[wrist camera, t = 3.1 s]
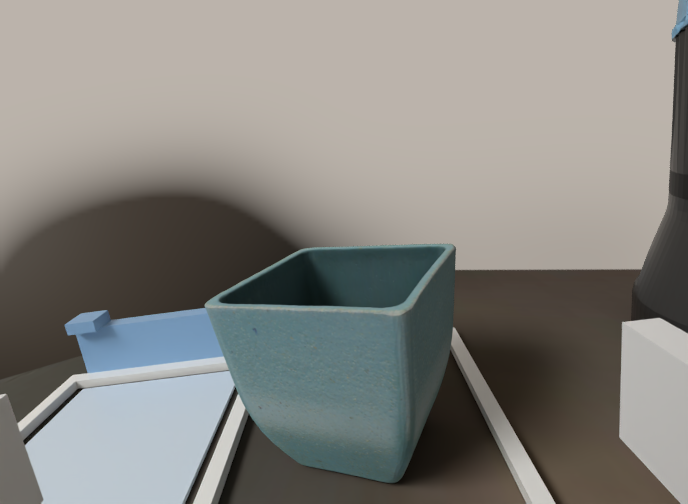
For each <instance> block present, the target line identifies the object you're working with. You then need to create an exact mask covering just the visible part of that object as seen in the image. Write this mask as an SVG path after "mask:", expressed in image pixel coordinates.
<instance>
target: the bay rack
mask: <svg viewBox="0 0 688 504" xmlns="http://www.w3.org/2000/svg"><path fill="white" fill-rule="evenodd" d="M65 328H66V331H67V334H68V335H75V334H76V336H77V340H78V343H79V346H80V349H81V353H82V356H83V359H84V362H85V365H86V369H87V372H88V373H87V374H79V375H72V376H71V377H70V378H69V379H68V380H67V381H66V382H64V383H63V384H62V385H61V386H60V387H59V388H58V389H57V390H55V391H54V392H53V393H52V394H51V395H50V396H49V397H47V398H46V399H45V400H44V401H43V402H42V403H41V404H40V405H38V406H37V407H36V408H35V409H34V410H33V411H32V412H30V413H29V414H28V415H27V416H26V417H25V418H24V419H23V420H21V421H20V422H19V423H18V427H19V430H20V433H21V436H22V439H23V440H24V439H25V438H26V437H27V436H29V435H30V434H31V433H32V432H33V431H34V430H35V429H36V428H37V427H38V426H39V425H40V424H41V423H42V422H43V421H44V420H45V419H46V418H47V417H49V416H50V415H51V414H52V413H53V412H54V411H55V410H56V409H57V408H58V407H59V406H60V405H61V404H62V403H63V402H64V401H65V400H66V399H67V398H69V397H70V396H71V395H72V394H73V393H74V392H75V391H76V390H77V389H80V388H86V389H83V390H82V391H81V392H79V393H78V394H77V395H76V396H75V397H74V398H73V399H72V400H71V401H70V402H69V403H68V404H67V405H66V406H65V407H64V408H63V409H62V410H61V411H60V412H59V413H58V414H57V415H56V416H55V417H54V418H53V419H52V420H51V421H50V422H49V423H48V424H46V425H45V426H44V427H43V428H42V429H41V430H40V431H39V432H38V433H37V434H36V435H35V436H34V437H33V438H32V439H31V440H30V441H29V442H28V443H27V444H26V445H25V447H26V450H27V453H28V456H29V459H30V462H31V465H32V468H33V470H34V473H35V476H36V479H37V482H38V485H39V488H40V491H41V493H42V496H43V499H44V500H43V501H42V503H41V504H185V502H186V500H187V498H188V495H189V493H190V491H191V488H192V486H193V484H194V481H195V479H196V477H197V475H198V472H199V470H200V468H201V465H202V463H203V461H204V458H205V456H206V454H207V451H208V449H209V447H210V445H211V442H212V440H213V438H214V435H215V433H216V431H217V428H218V426H219V424H220V421H221V419H222V417H223V415H224V412H225V410H226V408H227V405H228V403H229V401H230V398H231V396H232V394H233V391H234V389H235V384H234V382H233V379H232V377H231V374H230V371H226V370H229V369H228V366H227V364H226V361H225V358H224V356H223V353H222V350H221V348H220V345H219V343H218V340H217V337H216V334H215V332H214V329H213V326H212V324H211V321H210V318H209V316H208V313H207V311H206V308H202V309H195V310H187V311H179V312H171V313H163V314H155V315H147V316H140V317H132V318H125V319H116V320H110V316H109V313H108V310H105V311H97V312H89V313H81V314H80V315H78V316H77V317H75V318H74V319H72V320H71V321H69V322H68V323H66V324H65ZM450 350H451V352H452V354H453V356H454V358H455V360H456V362H457V364H458V366H459V368H460V370H461V372H462V374H463V376H464V378H465V380H466V382H467V384H468V386H469V388H470V390H471V392H472V394H473V396H474V398H475V400H476V402H477V404H478V407H479V409H480V411H481V413H482V415H483V417H484V419H485V421H486V423H487V425H488V427H489V429H490V431H491V433H492V435H493V437H494V439H495V441H496V443H497V445H498V447H499V449H500V451H501V453H502V455H503V457H504V459H505V461H506V463H507V465H508V467H509V469H510V471H511V473H512V475H513V477H514V479H515V481H516V483H517V485H518V487H519V489H520V491H521V493H522V495H523V497H524V499H525V502H526V504H556V503H555V502H554V500H553V498H552V496H551V495H550V493H549V491H548V489H547V488H546V486H545V484H544V482H543V481H542V479H541V477H540V476H539V474H538V472H537V470H536V469H535V467H534V465H533V463H532V462H531V460H530V458H529V456H528V455H527V453H526V451H525V449H524V448H523V446H522V444H521V442H520V441H519V439H518V437H517V435H516V434H515V432H514V430H513V428H512V427H511V425H510V423H509V421H508V420H507V418H506V416H505V415H504V413H503V411H502V409H501V408H500V406H499V404H498V402H497V401H496V399H495V397H494V395H493V394H492V392H491V390H490V388H489V387H488V385H487V383H486V381H485V380H484V378H483V376H482V374H481V373H480V371H479V369H478V367H477V366H476V364H475V362H474V360H473V359H472V357H471V355H470V354H469V352H468V350H467V348H466V347H465V345H464V343H463V341H462V340H461V338H460V336H459V334H458V333H457V331H456V329H455V328H453V332H452V341H451V347H450ZM217 371H224V372H217ZM209 372H216V373H209ZM201 373H208V374H201ZM193 374H200V375H193ZM185 375H192V376H185ZM177 376H183V377H177ZM169 377H175V378H169ZM161 378H167V379H161ZM153 379H159V380H153ZM145 380H151V381H145ZM137 381H143V382H137ZM128 382H135V383H128ZM120 383H127V384H120ZM112 384H119V385H112ZM104 385H111V386H104ZM96 386H102V387H96ZM88 387H94V388H88ZM248 415H249V413H248V411H247V410H246V408H245V406H244V404H243V403H242V401H241V398H240V396H239V394H238V396H237V398H236V401H235V403H234V405H233V408H232V410H231V413H230V415H229V418H228V420H227V423H226V425H225V427H224V430H223V432H222V435H221V437H220V440H219V442H218V444H217V447H216V449H215V452H214V454H213V457H212V459H211V461H210V464H209V466H208V469H207V471H206V474H205V476H204V479H203V481H202V483H201V486H200V488H199V491H198V493H197V496H196V498H195V500H194V503H193V504H218V502H219V499H220V496H221V493H222V490H223V487H224V485H225V482H226V479H227V476H228V473H229V470H230V467H231V464H232V461H233V458H234V455H235V453H236V450H237V447H238V444H239V441H240V438H241V435H242V432H243V429H244V426H245V423H246V421H247V418H248Z"/></svg>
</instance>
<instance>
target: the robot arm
mask: <svg viewBox="0 0 688 504" xmlns="http://www.w3.org/2000/svg"><path fill="white" fill-rule="evenodd" d="M672 41H674V42H676V52H675V74H674V97H673V121H672V143H671V158H670V159H671V160H670V180H669V199H668V206H667V210H666V212H665V215H664V217H663V219H662V221H661V224H660V226H659V228H658V231H657V233H656V235H655V237H654V240H653V242H652V245H651V247H650V249H649V252H648V254H647V257H646V259H645V262H644V265H643V267H642V270H641V273H640V275H639V276H638V277H637V278H636V280H635V282H634V286H633V290H632V313H631V320H632V321H628V322H622V354H621V393H620V433H619V437H620V438H621V440H622V441H623V442H624V443H625V444H626V445H627V446H628V447H629V448H630V449H631V450H632V451H633V452H634V454H635V455H636V456H637V457H638V458H639V459H640V460H641V461H642V462H643V463H644V464H645V465H646V466H647V468H648V469H649V470H650V471H651V472H652V473H653V474H654V475H655V476H656V477H657V478H658V479H659V480H660V482H661V483H662V484H663V485H664V486H665V487H666V488H667V489H668V490H669V491H670V492H671V493H672V495H673V496H674V497H675V498H676V499H677V500H678V501H679V502H680V503H681V504H688V0H679V4H678V13H677V21H676V25H675V27H674V29H673V30H672ZM43 500H44V499H43V496H42V493H41V491H40V488H39V485H38V482H37V479H36V476H35V473H34V470H33V468H32V465H31V462H30V459H29V456H28V453H27V450H26V447H25V445H24V442H23V439H22V436H21V433H20V430H19V427H18V424H17V422H16V419H15V416H14V413H13V410H12V407H11V404H10V401H9V399H8V396H7V394H3V395H0V504H41V503H42V501H43Z"/></svg>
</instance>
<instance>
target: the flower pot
mask: <svg viewBox="0 0 688 504" xmlns="http://www.w3.org/2000/svg"><path fill="white" fill-rule="evenodd" d="M455 252H456V248H455V246H454V245H452V244H413V245H381V246H355V247H354V246H353V247H318V248H305V249H302V250H299V251H297V252H295V253H293V254H292V255H290V256H288V257H286V258H284V259H282V260H281V261H279V262H277V263H276V264H274V265H272V266H270V267H268V268H266V269H264V270H262V271H261V272H259V273H257V274H255V275H253V276H252V277H250V278H248V279H246V280H244V281H242V282H240V283H239V284H237V285H235V286H233V287H232V288H230V289H228V290H226V291H224V292H222V293H220V294H219V295H217V296H215V297H214V298H212V299H211V300H209V301H208V302H207V303H206V304H205V308H206V311H207V313H208V316H209V318H210V321H211V324H212V326H213V329H214V332H215V334H216V337H217V340H218V343H219V345H220V348H221V350H222V353H223V356H224V358H225V361H226V364H227V366H228V369H229V371H230V374H231V377H232V379H233V382H234V384H235V387H236V389H237V391H238V394H239V396H240V398H241V401H242V403H243V404H244V406H245V408H246V410H247V411H248V413H249V415H250V416H251V418H252V419H253V421H254V422H255V423H256V425H257V426H258V427H259V428H260V430H261V431H262V432H263V433H264V434H265V435H266V436H267V437H268V438H269V439H270V440H271V441H272V442H273V443H274V444H275V445H276V446H278V447H279V448H280V449H281V450H282V451H284V452H285V453H286V454H287V455H289V456H290V457H291V458H293V459H294V460H295V461H297V462H298V463H300V464H302V465H305V466H309V467H315V468H320V469H325V470H330V471H335V472H340V473H345V474H349V475H354V476H359V477H363V478H367V479H372V480H376V481H381V482H386V483H395V482H398V481H399V480H400V479H401V478H402V477H403V475H404V473H405V471H406V469H407V467H408V464H409V462H410V460H411V457H412V454H413V452H414V449H415V447H416V445H417V442H418V440H419V437H420V435H421V433H422V430H423V428H424V425H425V423H426V420H427V418H428V415H429V413H430V411H431V408H432V406H433V404H434V401H435V399H436V396H437V394H438V391H439V389H440V386H441V383H442V380H443V377H444V374H445V370H446V366H447V362H448V358H449V353H450V347H451V341H452V332H453V311H454V283H455Z"/></svg>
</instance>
